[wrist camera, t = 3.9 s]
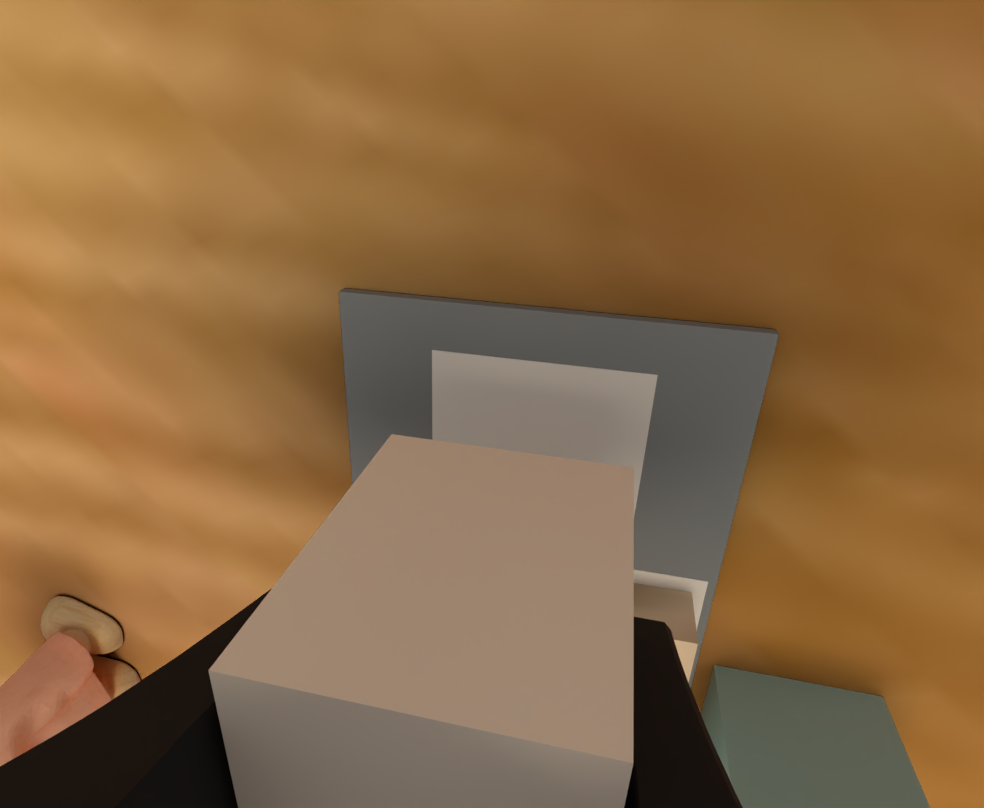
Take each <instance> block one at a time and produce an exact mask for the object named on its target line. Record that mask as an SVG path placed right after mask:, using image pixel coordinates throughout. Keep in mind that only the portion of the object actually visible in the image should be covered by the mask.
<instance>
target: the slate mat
mask: <svg viewBox="0 0 984 808" xmlns="http://www.w3.org/2000/svg"><path fill="white" fill-rule="evenodd" d="M339 303H340V317H341V331H342V345H343V359H344V373H345V388H346V402H347V416H348V430H349V444H350V458H351V472H352V485H353V483H354V482H355V481H356V479H357V478H358V477H359V476H360V474H361V473H362V472H363V470H364V469H365V468H366V467H367V465H368V464H369V463H370V461H371V460H372V459H373V457H374V456H375V455H376V454H377V452H378V451H379V450H380V448H381V447H382V446H383V445H384V443H385V442H386V441H387V439H388V438H389V437H390V436H391V434H394V435H402V436H409V437H416V438H423V439H431V440H438V441H445V442H452V443H460V444H467V445H474V446H481V447H488V448H496V449H503V450H510V451H517V452H525V453H532V454H539V455H546V456H554V457H561V458H568V459H575V460H583V461H590V462H597V463H604V464H612V465H619V466H626V467H633V468H634V583H636V584H642V585H648V586H654V587H660V588H666V589H672V590H678V591H684V592H690V593H692V597H693V606H694V614H695V623H696V631H697V640H698V646H697V650H696V654H695V658H694V662H693V666H692V670H691V675H690V679H689V686H690V688H691V685H692V681H693V677H694V673H695V669H696V665H697V661H698V657H699V653H700V649H701V645H702V641H703V637H704V633H705V629H706V625H707V621H708V617H709V613H710V609H711V605H712V601H713V597H714V593H715V589H716V585H717V581H718V577H719V573H720V569H721V565H722V561H723V557H724V553H725V549H726V545H727V541H728V537H729V533H730V529H731V525H732V521H733V517H734V513H735V509H736V505H737V501H738V497H739V493H740V489H741V485H742V481H743V477H744V473H745V469H746V465H747V461H748V457H749V453H750V449H751V445H752V441H753V437H754V433H755V429H756V425H757V421H758V417H759V413H760V409H761V405H762V401H763V397H764V392H765V388H766V384H767V380H768V376H769V372H770V368H771V364H772V360H773V356H774V352H775V348H776V344H777V340H778V336H779V334H778V332H777V331H776V329H765V328H755V327H744V326H734V325H724V324H713V323H703V322H692V321H682V320H671V319H661V318H650V317H640V316H630V315H619V314H609V313H598V312H588V311H577V310H567V309H556V308H546V307H535V306H525V305H515V304H504V303H494V302H483V301H473V300H462V299H452V298H441V297H431V296H421V295H410V294H400V293H389V292H379V291H368V290H358V289H347V288H344V289H342V290H341V291H339Z"/></svg>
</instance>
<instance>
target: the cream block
mask: <svg viewBox="0 0 984 808" xmlns="http://www.w3.org/2000/svg"><path fill="white" fill-rule="evenodd" d="M208 671H209V676H210V680H211V685H212V690H213V694H214V699H215V704H216V708H217V713H218V717H219V722H220V727H221V731H222V736H223V740H224V745H225V750H226V754H227V759H228V763H229V768H230V773H231V777H232V782H233V787H234V791H235V796H236V800H237V805H238V808H624V806H625V801H626V796H627V792H628V787H629V782H630V777H631V773H632V768H633V701H634V468H633V467H626V466H619V465H612V464H604V463H597V462H590V461H583V460H575V459H568V458H561V457H554V456H546V455H539V454H532V453H525V452H517V451H510V450H503V449H496V448H488V447H481V446H474V445H467V444H460V443H452V442H445V441H438V440H431V439H423V438H416V437H409V436H402V435H394V434H391V436H390V437H389V438H388V439H387V441H386V442H385V443H384V445H383V446H382V447H381V448H380V450H379V451H378V452H377V454H376V455H375V456H374V457H373V459H372V460H371V461H370V463H369V464H368V465H367V467H366V468H365V469H364V470H363V472H362V473H361V474H360V476H359V477H358V478H357V479H356V481H355V482H354V483H353V485H352V486H351V487H350V488H349V490H348V491H347V492H346V494H345V495H344V496H343V497H342V499H341V500H340V501H339V503H338V504H337V505H336V507H335V508H334V509H333V510H332V512H331V513H330V514H329V516H328V517H327V518H326V519H325V521H324V522H323V523H322V525H321V526H320V527H319V528H318V530H317V531H316V532H315V534H314V535H313V536H312V537H311V539H310V540H309V541H308V543H307V544H306V545H305V546H304V548H303V549H302V550H301V552H300V553H299V554H298V556H297V557H296V558H295V559H294V561H293V562H292V563H291V565H290V566H289V567H288V568H287V570H286V571H285V572H284V574H283V575H282V576H281V577H280V579H279V580H278V581H277V583H276V584H275V585H274V586H273V588H272V589H271V590H270V592H269V593H268V594H267V596H266V597H265V598H264V599H263V601H262V602H261V603H260V605H259V606H258V607H257V608H256V610H255V611H254V612H253V614H252V615H251V616H250V617H249V619H248V620H247V621H246V623H245V624H244V625H243V626H242V628H241V629H240V630H239V632H238V633H237V634H236V635H235V637H234V638H233V639H232V641H231V642H230V643H229V645H228V646H227V647H226V648H225V650H224V651H223V652H222V654H221V655H220V656H219V657H218V659H217V660H216V661H215V663H214V664H213V665H212V666H211V668H210V669H209V670H208Z"/></svg>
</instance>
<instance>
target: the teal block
mask: <svg viewBox="0 0 984 808" xmlns="http://www.w3.org/2000/svg"><path fill="white" fill-rule="evenodd" d="M701 716H702V719H703V721H704V723H705V726H706V728H707V730H708V733H709V735H710V738H711V740H712V742H713V744H714V746H715V749H716V751H717V753H718V755H719V757H720V760H721V762H722V764H723V766H724V768H725V771H726V773H727V775H728V777H729V780H730V782H731V784H732V786H733V788H734V791H735V793H736V795H737V797H738V799H739V801H740V803H741V805H742V807H743V808H930V806H929V804H928V802H927V799H926V797H925V795H924V792H923V790H922V788H921V785H920V783H919V780H918V778H917V776H916V773H915V771H914V769H913V766H912V764H911V762H910V759H909V757H908V755H907V752H906V750H905V748H904V745H903V743H902V741H901V738H900V736H899V733H898V731H897V729H896V726H895V724H894V722H893V719H892V717H891V715H890V712H889V710H888V708H887V705H886V703H885V701H884V698H883V697H882V696H877V695H872V694H867V693H861V692H856V691H851V690H845V689H840V688H835V687H829V686H824V685H819V684H813V683H808V682H803V681H797V680H792V679H787V678H782V677H776V676H771V675H766V674H760V673H755V672H750V671H744V670H739V669H734V668H728V667H723V666H718V665H714V666H713V670H712V674H711V677H710V681H709V685H708V689H707V692H706V696H705V700H704V704H703V707H702V711H701Z"/></svg>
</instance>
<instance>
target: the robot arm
mask: <svg viewBox="0 0 984 808" xmlns="http://www.w3.org/2000/svg"><path fill="white" fill-rule="evenodd" d="M270 590H271V589H270ZM270 590H269V591H268V592H266V593H265V594H263V595H262V596H261V597H259V598H258V599H257V600H255V601H254V602H253V603H251V604H250V605H249V606H247V607H246V608H245V609H243V610H242V611H240V612H239V613H238V614H236V615H235V616H234V617H232V618H231V619H230V620H228V621H227V622H225V623H224V624H223V625H221V626H220V627H218V628H217V629H216V630H214V631H213V632H211V633H210V634H209V635H207V636H206V637H204V638H203V639H202V640H200V641H199V642H197V643H196V644H195V645H193V646H192V647H190V648H189V649H187V650H186V651H185V652H183V653H182V654H180V655H179V656H178V657H176V658H175V659H173V660H172V661H170V662H169V663H167V664H166V665H164V666H163V667H161V668H160V669H158V670H157V671H155V672H154V673H152V674H151V675H149V676H147V677H146V678H144V679H143V680H141V681H140V682H138V683H137V684H135V685H134V686H132V687H131V688H129V689H128V690H126V691H125V692H123V693H122V694H120V695H119V696H117V697H116V698H114V699H113V700H111V701H110V702H108V703H107V704H105V705H104V706H102V707H100V708H99V709H97V710H96V711H94V712H92V713H91V714H89V715H87V716H86V717H84V718H83V719H81V720H79V721H78V722H76V723H74V724H73V725H71V726H69V727H68V728H66V729H64V730H63V731H61V732H59V733H58V734H56V735H54V736H53V737H51V738H49V739H47V740H46V741H44V742H42V743H40V744H39V745H37V746H35V747H33V748H32V749H30V750H28V751H26V752H25V753H23V754H21V755H19V756H18V757H16V758H14V759H12V760H11V761H9V762H7V763H5V764H4V765H2V766H0V808H238V805H237V800H236V796H235V791H234V787H233V782H232V777H231V773H230V768H229V763H228V759H227V754H226V750H225V745H224V740H223V736H222V731H221V727H220V722H219V717H218V713H217V708H216V704H215V699H214V694H213V690H212V685H211V680H210V676H209V671H208V670H209V669H210V668H211V666H212V665H213V664H214V663H215V661H216V660H217V659H218V657H219V656H220V655H221V654H222V652H223V651H224V650H225V648H226V647H227V646H228V645H229V643H230V642H231V641H232V639H233V638H234V637H235V635H236V634H237V633H238V632H239V630H240V629H241V628H242V626H243V625H244V624H245V623H246V621H247V620H248V619H249V617H250V616H251V615H252V614H253V612H254V611H255V610H256V608H257V607H258V606H259V605H260V603H261V602H262V601H263V599H264V598H265V597H266V596H267V594H268V593H269V592H270ZM624 808H743V807H742V805H741V803H740V801H739V799H738V797H737V795H736V793H735V791H734V788H733V786H732V784H731V782H730V780H729V777H728V775H727V773H726V771H725V768H724V766H723V764H722V762H721V760H720V757H719V755H718V753H717V751H716V749H715V746H714V744H713V742H712V740H711V738H710V735H709V733H708V730H707V728H706V726H705V723H704V721H703V719H702V716H701V714H700V711H699V709H698V706H697V704H696V701H695V698H694V696H693V693H692V691H691V688H690V686H689V683H688V680H687V678H686V675H685V672H684V669H683V666H682V664H681V661H680V658H679V655H678V652H677V648H676V645H675V642H674V639H673V635H672V631H671V629H670V628H669V627H668V626H667V624H666V623H665V622H662V621H656V620H650V619H645V618H639V617H634V701H633V768H632V773H631V777H630V782H629V787H628V792H627V796H626V801H625V806H624Z"/></svg>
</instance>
